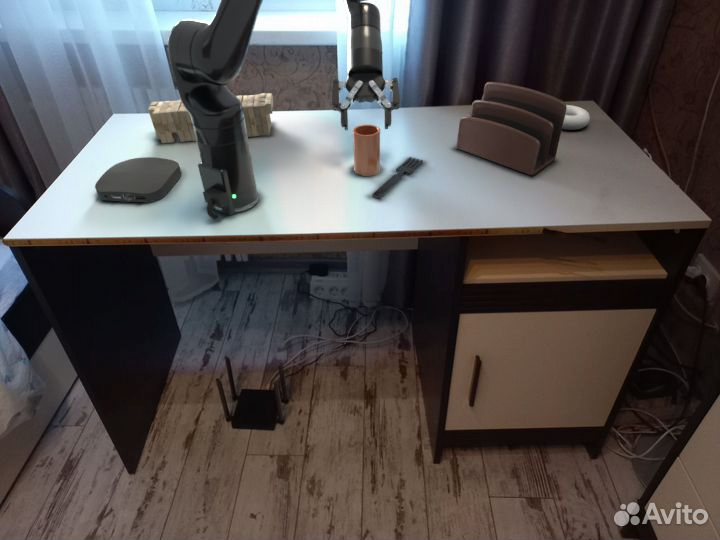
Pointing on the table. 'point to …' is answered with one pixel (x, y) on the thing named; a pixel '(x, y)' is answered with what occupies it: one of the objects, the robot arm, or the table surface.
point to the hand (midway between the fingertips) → (366, 128)
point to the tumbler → (366, 149)
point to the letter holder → (513, 127)
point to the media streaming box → (138, 180)
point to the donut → (575, 118)
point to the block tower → (177, 120)
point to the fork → (398, 176)
